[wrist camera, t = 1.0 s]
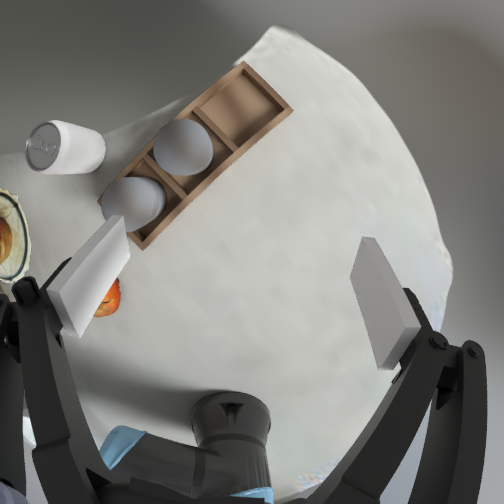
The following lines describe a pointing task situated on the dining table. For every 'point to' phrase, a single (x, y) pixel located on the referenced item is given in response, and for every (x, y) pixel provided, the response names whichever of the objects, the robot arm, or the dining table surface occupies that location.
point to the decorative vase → (13, 239)
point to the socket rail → (228, 132)
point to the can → (64, 148)
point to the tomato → (109, 301)
